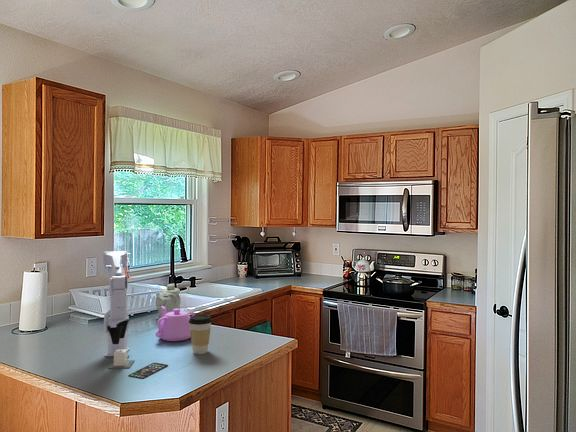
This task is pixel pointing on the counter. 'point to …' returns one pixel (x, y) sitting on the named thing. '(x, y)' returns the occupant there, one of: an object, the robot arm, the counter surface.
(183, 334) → the teapot
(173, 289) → the teapot
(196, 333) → the coffee cup
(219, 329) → the counter surface
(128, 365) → the mat
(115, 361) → the block
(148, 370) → the smartphone
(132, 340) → the counter surface
